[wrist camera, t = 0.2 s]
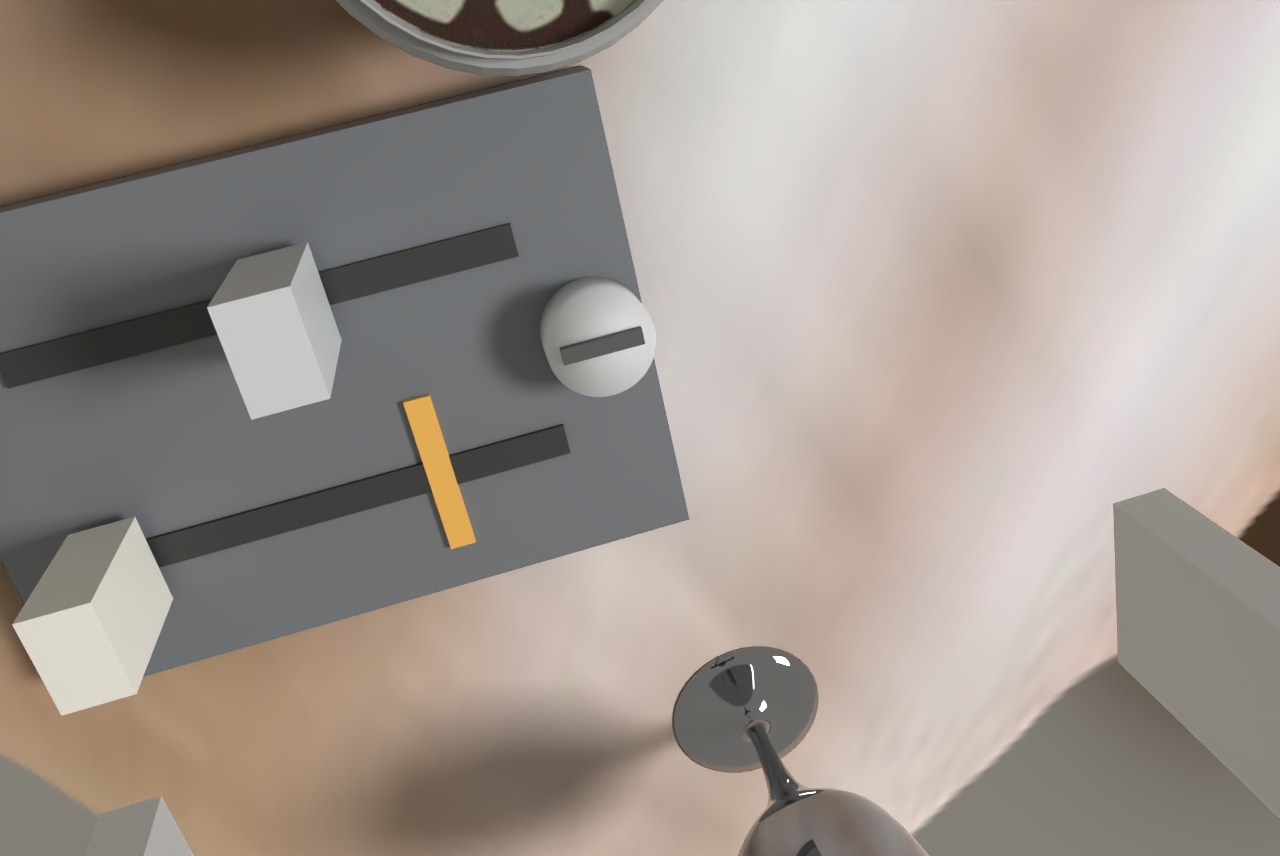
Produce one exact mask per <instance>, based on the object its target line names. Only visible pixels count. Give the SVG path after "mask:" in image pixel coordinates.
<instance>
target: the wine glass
mask: <svg viewBox="0 0 1280 856" xmlns="http://www.w3.org/2000/svg"><path fill="white" fill-rule="evenodd" d="M817 708H818V689H817V684H816V682H815V679H814V676H813V675H812V673H811V672H810V670H809V668H808V667H807V666H806V665H805V664H804V663H803V662H802V661H801V660H800V659H798V658H797V657H795V656H793V655H792V654H790V653H788V652H785V651H783V650H780V649H775V648H770V647H749V648H742V649H738V650H734V651H731V652H728V653H726V654H724V655H721V656H719V657H717V658H715V659H714V660H712V661H710V662H709V663H707V664H706V665H704V666H703V667H702V668H701V669H700V670H699V671H697V672H696V673H695V674H694V675H693V676H692V678H691V679H690V680H689V681H688V682H687V684H686V685H685V687H684V688H683V690H682V692H681V693H680V696H679V698H678V701H677V703H676V707H675V711H674V730H675V735H676V738H677V740H678V742H679V745H680V746H681V748H682V749H683V750H684V752H685V753H686V754H687V755H688V756H689V757H690V758H691V759H693V760H694V761H695V762H697V763H698V764H700V765H702V766H704V767H706V768H709V769H712V770H715V771H720V772H727V773H740V772H747V771H752V770H756V769H759V768H762V769H763V772H764V776H765V779H766V784H767V788H768V794H769V798H768V804H767V807H766V809H765V810H764V812H763V813H762V814H761V815H760V817H759V818H758V819H757V820H756V822H755V823H754V824H753V826H752V827H751V829H750V830H749V832H748V834H747V836H746V838H745V840H744V843H743V845H742V847H741V849H740V851H739V854H738V856H929V855H928V854H927V853H926V851H925V850H924V849H923V848H922V847H921V846H920V845H919V843H918V842H917V841H916V840H915V839H914V837H913V836H912V835H911V834H910V833H909V832H908V831H907V830H906V829H905V828H904V827H903V826H902V825H900V824H899V823H898V822H897V821H896V820H895V819H894V818H893V817H892V816H891V815H890V814H889V813H888V812H887V811H886V810H884V809H883V808H881V807H880V806H878V805H877V804H875V803H874V802H872V801H871V800H869V799H867V798H865V797H863V796H860V795H858V794H855V793H851V792H848V791H844V790H838V789H832V788H808V787H805V786H803V785H801V784H800V783H798V782H797V781H796V780H795V779H794V778H793V776H792V775H791V774H790V772H789V771H788V770H787V768H786V767H785V765H784V764H783V762H782V761H781V760H780V759H781V758H783V757H784V756H786V755H787V754H788V753H789V752H791V751H792V750H793V749H794V748H795V747H796V746H797V745H798V744H799V743H800V742H801V741H802V740H803V739H804V737H805V736H806V734H807V733H808V731H809V730H810V728H811V726H812V724H813V721H814V719H815V716H816V712H817Z"/></svg>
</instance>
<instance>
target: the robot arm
mask: <svg viewBox="0 0 1280 856" xmlns="http://www.w3.org/2000/svg"><path fill="white" fill-rule="evenodd" d="M1113 509H1114V542H1115V576H1116V609H1117V642H1118V662H1119V663H1120V664H1121V665H1122V666H1123V667H1124V668H1125V669H1126V670H1127V671H1128V672H1129V673H1130V674H1131V675H1132V676H1133V677H1134V678H1135V679H1136V680H1137V681H1138V682H1139V683H1140V684H1141V685H1142V686H1144V687H1145V688H1146V689H1147V690H1148V691H1149V692H1150V693H1151V694H1152V695H1153V696H1154V697H1155V698H1156V699H1157V700H1158V701H1159V702H1160V703H1161V704H1162V705H1163V706H1164V707H1165V708H1166V709H1167V710H1168V711H1169V712H1170V713H1171V714H1172V715H1173V716H1174V717H1176V718H1177V719H1178V720H1179V721H1180V722H1181V723H1182V724H1183V725H1184V726H1185V727H1186V728H1187V729H1188V730H1189V731H1190V732H1191V733H1192V734H1193V735H1194V736H1195V737H1196V738H1197V739H1198V740H1199V741H1200V742H1201V743H1202V744H1203V745H1204V746H1205V747H1206V748H1207V749H1208V750H1210V752H1212V753H1213V754H1214V755H1215V756H1216V757H1217V758H1218V759H1219V760H1220V761H1221V762H1222V763H1223V764H1224V765H1225V766H1226V767H1227V768H1228V769H1229V770H1230V771H1231V772H1232V773H1233V774H1234V775H1235V776H1236V777H1237V778H1238V779H1239V780H1240V781H1241V782H1242V783H1243V784H1245V785H1246V786H1247V787H1248V788H1249V789H1250V790H1251V791H1252V792H1253V793H1254V794H1255V795H1256V796H1257V797H1258V798H1259V799H1260V800H1261V801H1262V802H1263V803H1264V804H1265V805H1266V806H1267V807H1268V808H1269V809H1270V810H1271V811H1272V812H1273V813H1274V814H1275V815H1277V816H1278V817H1279V818H1280V567H1279V566H1277V565H1276V564H1274V563H1273V562H1271V561H1270V560H1268V559H1267V558H1266V557H1264V556H1263V555H1261V554H1260V553H1258V552H1257V551H1255V550H1254V549H1252V548H1251V547H1249V546H1248V545H1247V544H1245V543H1244V542H1242V541H1241V540H1239V539H1238V538H1236V537H1235V536H1233V535H1232V534H1230V533H1229V532H1228V531H1226V530H1225V529H1223V528H1222V527H1220V526H1219V525H1217V524H1216V523H1214V522H1213V521H1211V520H1210V519H1209V518H1207V517H1206V516H1204V515H1203V514H1201V513H1200V512H1198V511H1197V510H1195V509H1194V508H1192V507H1191V506H1189V505H1188V504H1187V503H1185V502H1184V501H1182V500H1181V499H1179V498H1178V497H1176V496H1175V495H1173V494H1172V493H1170V492H1169V491H1168V490H1166V489H1165V488H1163V489H1160V490H1156V491H1153V492H1150V493H1147V494H1143V495H1140V496H1137V497H1134V498H1130V499H1127V500H1124V501H1121V502H1117V503H1114V504H1113ZM86 856H194V855H193V853H192V852H191V850H190V848H189V846H188V844H187V842H186V841H185V839H184V837H183V835H182V833H181V831H180V829H179V828H178V826H177V824H176V822H175V820H174V818H173V817H172V815H171V813H170V811H169V809H168V807H167V806H166V804H165V802H164V800H163V798H162V796H159V797H156V798H152V799H149V800H146V801H143V802H139V803H136V804H133V805H130V806H126V807H123V808H120V809H117V810H113V811H110V812H107V813H104V814H100V817H99V820H98V822H97V825H96V828H95V831H94V834H93V836H92V839H91V842H90V845H89V848H88V850H87V853H86Z"/></svg>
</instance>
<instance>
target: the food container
mask: <svg viewBox="0 0 1280 856" xmlns="http://www.w3.org/2000/svg"><path fill="white" fill-rule="evenodd" d="M336 1H337V2H338V3H339V4H340V5H341V6H342V7H343V8H344V9H345V10H346V11H347V12H348V13H349V14H350V15H351V16H352V17H354V18H355V19H356V20H358V21H359V22H360V23H361V24H363V25H364V26H365V27H367V28H368V29H369V30H371V31H372V32H373V33H375V34H376V35H377V36H379V37H380V38H382V39H383V40H385V41H387V42H389V43H391V44H392V45H394V46H396V47H398V48H400V49H402V50H403V51H405V52H407V53H409V54H411V55H412V56H415V57H418V58H420V59H423V60H426V61H429V62H431V63H434V64H437V65H440V66H442V67H445V68H448V69H453V70H459V71H464V72H469V73H474V74H479V75H500V76H519V75H526V74H534V73H541V72H548V71H552V70H555V69H558V68H561V67H565V66H568V65H571V64H574V63H577V62H581V61H583V60H585V59H587V58H589V57H591V56H593V55H595V54H597V53H598V52H600V51H602V50H604V49H606V48H608V47H610V46H612V45H613V44H615V43H616V42H617V41H619V40H620V39H621V38H623V37H624V36H625V35H627V34H628V33H630V32H631V31H632V30H634V29H635V28H636V27H638V26H639V25H640V24H641V23H642V22H643V21H644V20H645V19H646V18H647V17H648V16H649V15H650V14H651V13H652V12H653V11H654V10H655V9H656V7H657V6H658V5H659V4H660V3H661V2H662V1H663V0H336Z"/></svg>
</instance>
